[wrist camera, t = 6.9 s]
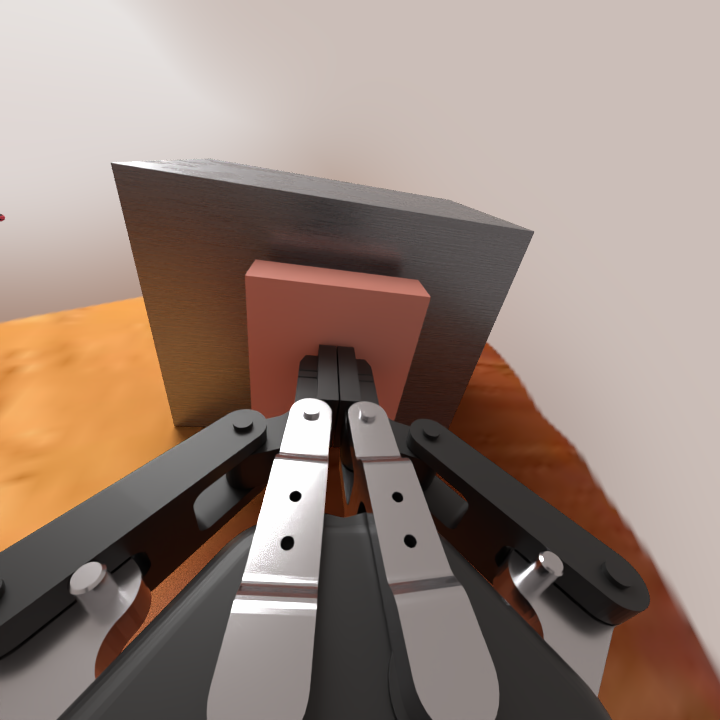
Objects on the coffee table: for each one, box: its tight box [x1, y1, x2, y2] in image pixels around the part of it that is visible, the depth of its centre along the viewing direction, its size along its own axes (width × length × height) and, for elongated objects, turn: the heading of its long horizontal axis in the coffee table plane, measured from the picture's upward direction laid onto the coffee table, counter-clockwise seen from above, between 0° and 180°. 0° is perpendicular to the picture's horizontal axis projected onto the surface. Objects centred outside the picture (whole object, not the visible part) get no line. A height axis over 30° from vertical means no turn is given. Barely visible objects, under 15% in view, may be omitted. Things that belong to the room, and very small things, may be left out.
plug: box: [245, 259, 431, 421], centre depth 19 cm, size 7×14×7 cm, turn 5°
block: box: [111, 159, 534, 429], centre depth 22 cm, size 18×12×14 cm, turn 95°
